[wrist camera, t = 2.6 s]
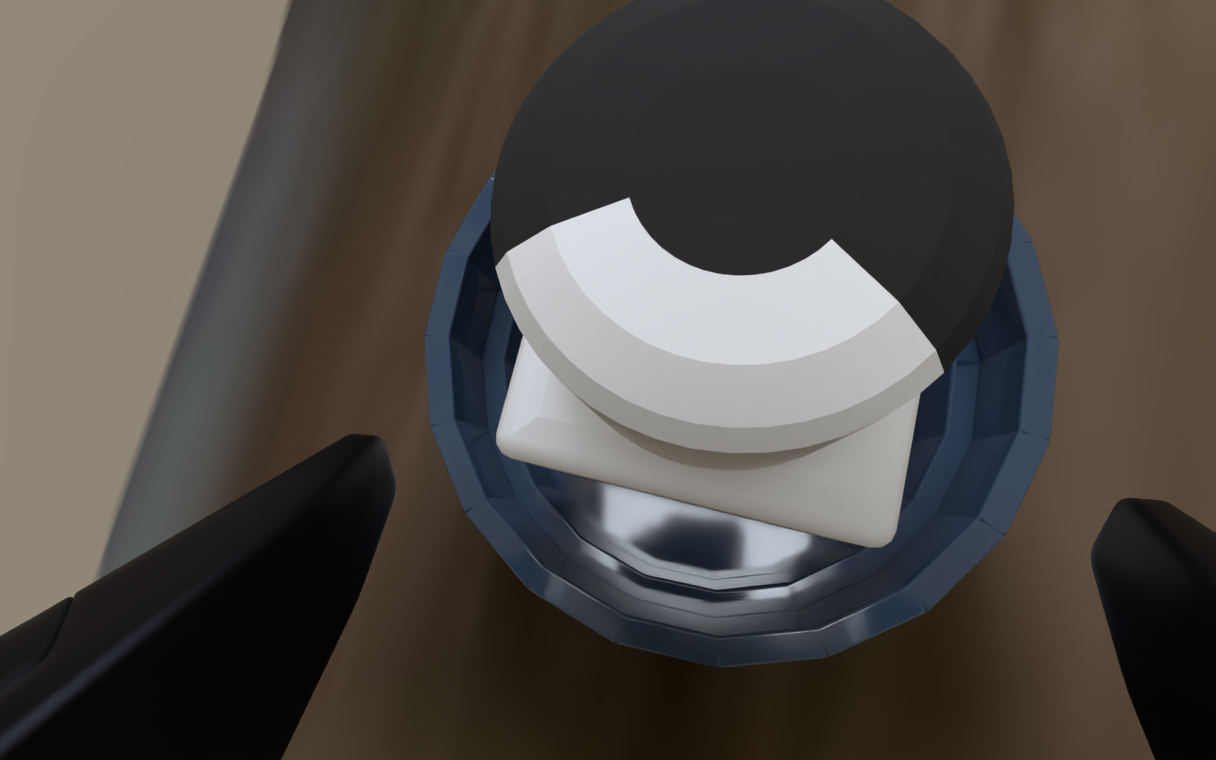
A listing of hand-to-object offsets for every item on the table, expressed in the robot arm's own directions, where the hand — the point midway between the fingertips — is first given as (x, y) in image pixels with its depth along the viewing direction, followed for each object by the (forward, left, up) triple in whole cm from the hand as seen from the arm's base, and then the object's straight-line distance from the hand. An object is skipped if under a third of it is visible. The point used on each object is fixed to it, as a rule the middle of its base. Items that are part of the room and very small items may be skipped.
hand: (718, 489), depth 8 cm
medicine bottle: (+3, 0, -10) cm, 11 cm away
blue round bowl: (+3, 0, -10) cm, 11 cm away
